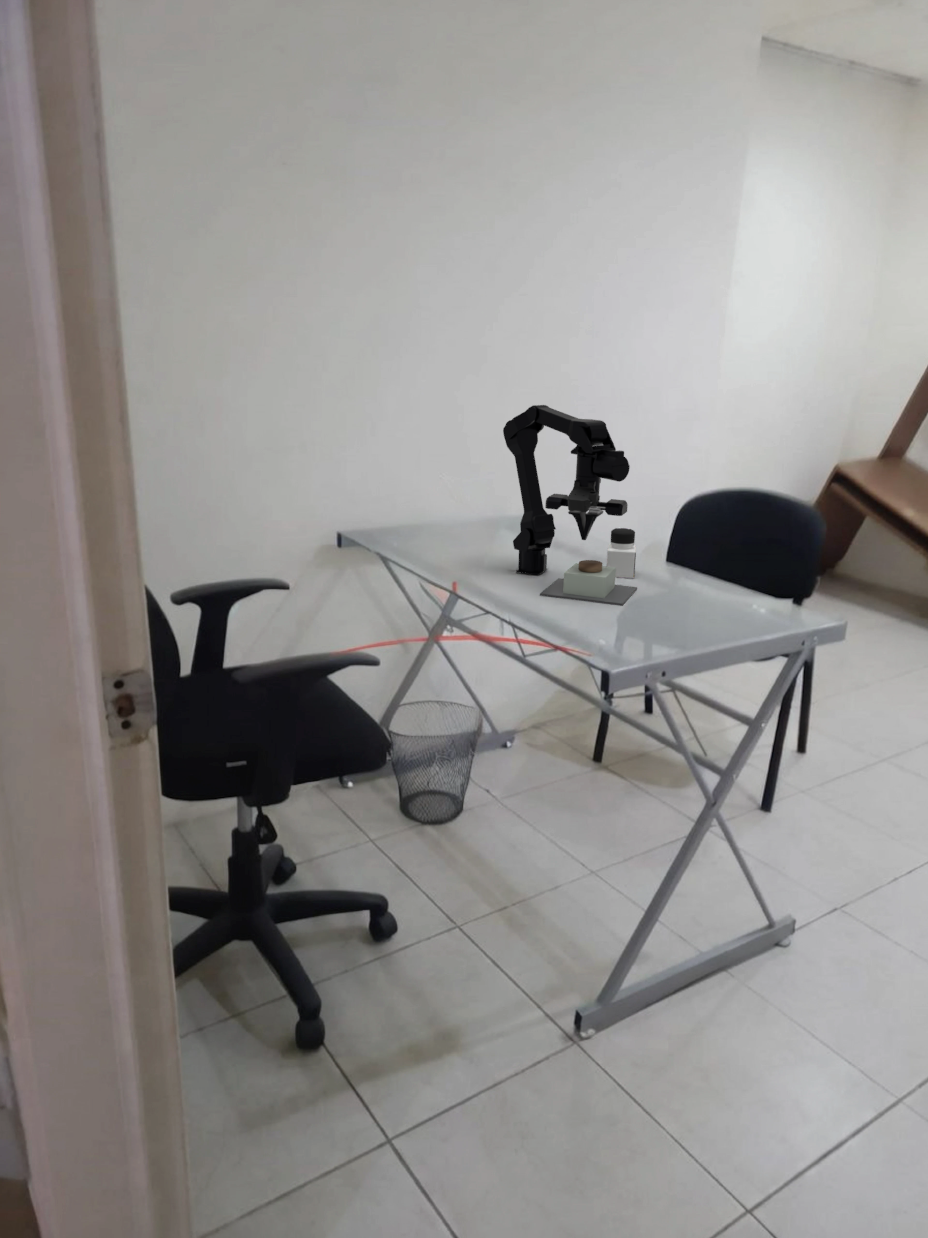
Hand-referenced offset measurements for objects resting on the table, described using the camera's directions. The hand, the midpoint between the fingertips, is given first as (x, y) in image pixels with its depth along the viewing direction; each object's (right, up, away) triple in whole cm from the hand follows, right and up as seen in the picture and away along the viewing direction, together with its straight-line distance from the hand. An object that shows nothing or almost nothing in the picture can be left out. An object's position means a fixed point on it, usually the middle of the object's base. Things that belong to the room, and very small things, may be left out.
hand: (584, 539), depth 208 cm
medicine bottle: (+12, -8, +16) cm, 21 cm away
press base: (+1, -13, 0) cm, 13 cm away
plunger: (+1, -13, 0) cm, 13 cm away
